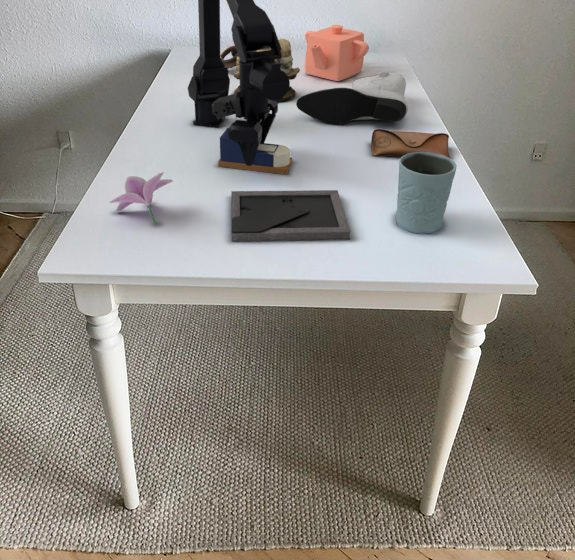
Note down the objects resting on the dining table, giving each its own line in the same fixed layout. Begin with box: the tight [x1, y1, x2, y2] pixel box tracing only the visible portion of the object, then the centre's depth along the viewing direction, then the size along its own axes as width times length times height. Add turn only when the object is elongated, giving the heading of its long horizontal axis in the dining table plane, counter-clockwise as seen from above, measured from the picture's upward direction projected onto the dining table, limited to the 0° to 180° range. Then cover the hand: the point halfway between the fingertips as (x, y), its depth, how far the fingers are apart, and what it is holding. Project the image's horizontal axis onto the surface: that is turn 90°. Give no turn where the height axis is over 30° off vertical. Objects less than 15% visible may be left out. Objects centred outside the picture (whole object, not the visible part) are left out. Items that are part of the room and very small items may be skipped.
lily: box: [109, 171, 174, 225], centre depth 113 cm, size 12×12×10 cm
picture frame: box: [230, 189, 351, 242], centre depth 116 cm, size 16×2×21 cm
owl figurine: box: [233, 38, 301, 103], centre depth 166 cm, size 18×12×17 cm, turn 92°
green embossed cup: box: [395, 152, 458, 235], centre depth 113 cm, size 10×10×12 cm
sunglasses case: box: [370, 128, 452, 159], centre depth 142 cm, size 18×7×7 cm
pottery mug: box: [220, 45, 237, 70], centre depth 188 cm, size 12×10×8 cm
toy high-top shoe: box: [217, 127, 293, 175], centre depth 133 cm, size 15×6×7 cm, turn 78°
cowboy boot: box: [295, 72, 409, 126], centre depth 162 cm, size 10×28×25 cm
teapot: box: [304, 24, 370, 82], centre depth 184 cm, size 20×22×14 cm
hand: (254, 156), depth 134 cm, fingers open, 9 cm apart
